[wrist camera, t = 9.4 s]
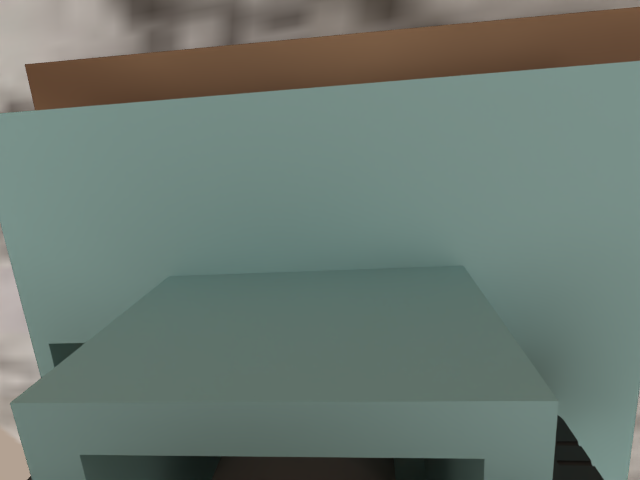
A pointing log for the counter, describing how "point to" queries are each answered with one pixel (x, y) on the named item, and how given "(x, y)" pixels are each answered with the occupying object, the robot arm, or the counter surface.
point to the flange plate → (332, 276)
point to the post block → (334, 70)
